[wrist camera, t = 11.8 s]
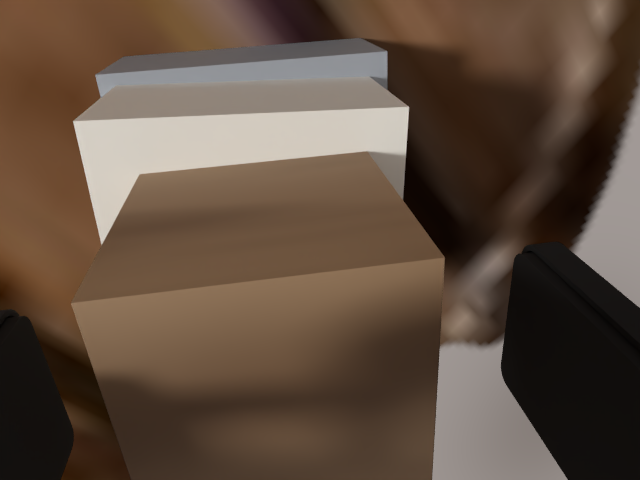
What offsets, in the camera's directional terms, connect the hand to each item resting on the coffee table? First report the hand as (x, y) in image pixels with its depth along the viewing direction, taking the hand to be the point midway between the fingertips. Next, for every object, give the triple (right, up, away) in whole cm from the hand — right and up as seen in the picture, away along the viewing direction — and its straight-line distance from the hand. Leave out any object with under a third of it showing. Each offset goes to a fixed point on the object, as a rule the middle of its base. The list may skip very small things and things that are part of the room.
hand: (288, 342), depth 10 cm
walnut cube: (-1, +1, +3) cm, 3 cm away
